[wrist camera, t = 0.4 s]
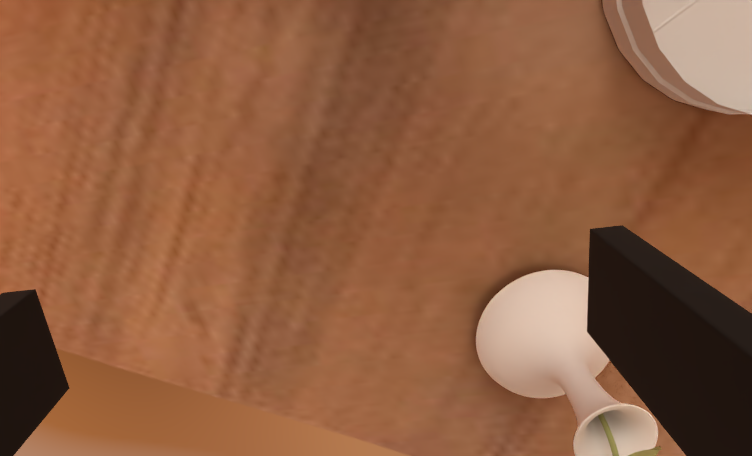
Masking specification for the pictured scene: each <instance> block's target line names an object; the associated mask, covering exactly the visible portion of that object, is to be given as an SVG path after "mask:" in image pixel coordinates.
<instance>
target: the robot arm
mask: <svg viewBox="0 0 752 456" xmlns="http://www.w3.org/2000/svg"><path fill="white" fill-rule="evenodd" d="M587 332H588V334H589V335H590V336H591V337H592V339H593V340H594V341H595V342H596V344H597V345H598V346H599V347H600V349H601V350H602V351H603V352H604V354H605V355H606V356H607V357H608V359H609V360H610V361H611V362H612V364H613V365H614V366H615V367H616V368H617V370H618V371H619V372H620V373H621V375H622V376H623V377H624V378H625V380H626V381H627V382H628V383H629V385H630V386H631V387H632V388H633V390H634V391H635V392H636V393H637V395H638V396H639V397H640V398H641V400H642V401H643V402H644V403H645V405H646V406H647V407H648V408H649V410H650V411H651V412H652V413H653V415H654V416H655V417H656V418H657V420H658V421H659V422H660V423H661V425H662V426H663V427H664V428H665V430H666V431H667V432H668V433H669V435H670V436H671V437H672V438H673V440H674V441H675V442H676V443H677V445H678V446H679V447H680V448H681V450H682V451H683V452H684V453H685V455H686V456H752V314H751V313H750V312H748V311H747V310H745V309H744V308H742V307H741V306H739V305H738V304H737V303H735V302H734V301H732V300H731V299H729V298H728V297H726V296H725V295H723V294H722V293H720V292H719V291H718V290H716V289H715V288H713V287H712V286H710V285H709V284H707V283H706V282H704V281H703V280H701V279H700V278H699V277H697V276H696V275H694V274H693V273H691V272H690V271H688V270H687V269H685V268H684V267H682V266H681V265H679V264H678V263H677V262H675V261H674V260H672V259H671V258H669V257H668V256H666V255H665V254H663V253H662V252H660V251H659V250H658V249H656V248H655V247H653V246H652V245H650V244H649V243H647V242H646V241H644V240H643V239H641V238H640V237H639V236H637V235H636V234H634V233H633V232H631V231H630V230H628V229H627V228H625V227H624V226H613V227H604V228H595V229H590V248H589V279H588V311H587ZM68 389H69V386H68V383H67V380H66V377H65V374H64V371H63V368H62V365H61V362H60V360H59V357H58V354H57V351H56V348H55V345H54V342H53V339H52V336H51V333H50V331H49V328H48V325H47V322H46V319H45V316H44V313H43V310H42V307H41V304H40V302H39V299H38V296H37V293H36V290H25V291H16V292H7V293H2V294H1V295H0V456H13V455H14V454H15V453H16V452H17V451H18V449H19V448H20V447H21V446H22V444H23V443H24V442H25V441H26V440H27V438H28V437H29V436H30V435H31V434H32V432H33V431H34V430H35V429H36V427H37V426H38V425H39V424H40V423H41V422H42V420H43V419H44V418H45V417H46V416H47V414H48V413H49V412H50V411H51V409H52V408H53V407H54V406H55V405H56V403H57V402H58V401H59V400H60V399H61V397H62V396H63V395H64V394H65V392H66V391H67V390H68Z"/></svg>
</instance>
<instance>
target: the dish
mask: <svg viewBox="0 0 752 456" xmlns="http://www.w3.org/2000/svg"><path fill="white" fill-rule="evenodd" d="M602 3H603V11H604V14H605V16H606V19H607V21H608V24H609V26H610V29H611V31H612V34H613V36H614V39H615V42H616V44H617V47H618V49H619V51H620V52H621V53H622V54H623V56H624V57H625V58H626V59H627V61H628V62H629V63H630V64H631V66H632V67H633V68H634V69H635V70H636V72H637V73H638V74H639V75H640V77H641V78H642V79H643V80H644V81H646V82H647V83H649V84H650V85H652V86H653V87H655V88H656V89H658V90H659V91H661V92H662V93H664V94H665V95H667V96H668V97H670V98H671V99H673V100H675V101H679V102H682V103H685V104H689V105H692V106H696V107H699V108H702V109H706V110H709V111H715V112H721V113H725V114H749V115H752V0H602Z"/></svg>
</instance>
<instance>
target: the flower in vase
mask: <svg viewBox="0 0 752 456" xmlns="http://www.w3.org/2000/svg"><path fill="white" fill-rule="evenodd" d="M588 279H589V278H588V277H586V276H584V275H581V274H578V273H575V272H571V271H565V270H544V271H539V272H534V273H531V274H528V275H525V276H523V277H521V278H519V279H516V280H515V281H513V282H511V283H510V284H508V285H507V286H505V287H504V288H503V289H502V290H500V291H499V292H498V293H497V294H496V295H495V296H494V297H493V298H492V300H491V301H490V302H489V303H488V305H487V306H486V308H485V310H484V311H483V313H482V316H481V318H480V320H479V324H478V327H477V333H476V348H477V353H478V357H479V360H480V362H481V364H482V366H483V368H484V369H485V371H486V372H487V373H488V375H489V376H490V377H491V378H492V379H493V380H495V381H496V382H497V383H498V384H500V385H501V386H503V387H504V388H506V389H508V390H509V391H511V392H513V393H516V394H518V395H522V396H525V397H531V398H552V397H557V396H562V395H565V394H566V395H567V397H568V399H569V401H570V403H571V405H572V407H573V410H574V412H575V415H576V419H577V424H578V428H577V430H576V432H575V435H574V439H573V448H574V453H575V456H656V455H657V454H658V451H659V450H661V447H660V446H658V447H655V445H656V443H657V439H658V428H657V424H656V422H655V420H654V418H653V417H652V416H651V414H649V413H648V412H647V411H646V410H644V409H642V408H640V407H638V406H636V405H632V404H626V403H620V402H618V401H616V400H615V399H614V398H613V397H611V396H610V395H609V394H608V393H607V392H606V391H605V390H604V389H603V388H602V387H601V386H600V384H599V383H598V382H597V381H596V379H595V377H596V376H597V375H598V374H599V373H600V372H601V371H602V370H603V369H604V368H605V366H606V365H607V363H608V362H609V359H608V357H607V356H606V355H605V354H604V352H603V351H602V350H601V349H600V347H599V346H598V345H597V344H596V342H595V341H594V340H593V339H592V337H591V336H590V335H589V334H588V332H587V311H588ZM654 447H655V448H654Z"/></svg>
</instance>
